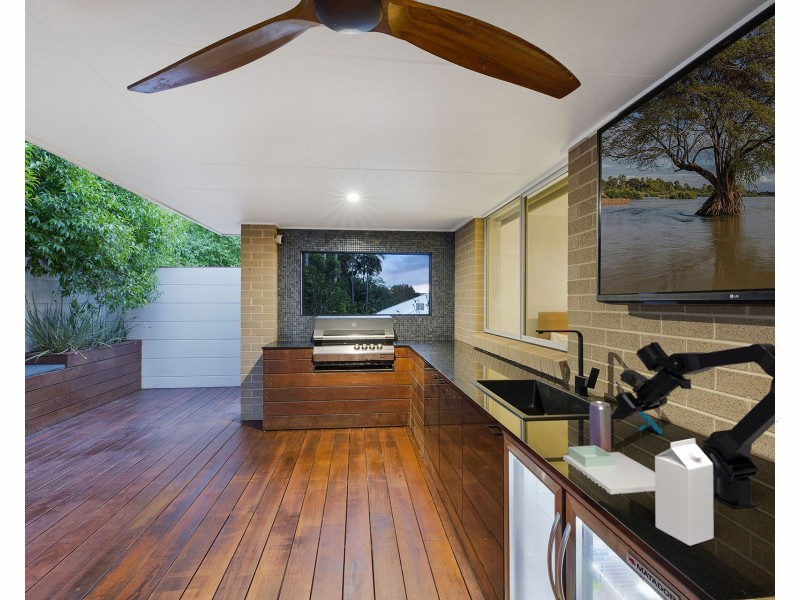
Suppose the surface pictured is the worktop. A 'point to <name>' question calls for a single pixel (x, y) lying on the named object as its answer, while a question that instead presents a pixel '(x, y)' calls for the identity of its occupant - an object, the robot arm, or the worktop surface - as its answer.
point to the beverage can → (600, 425)
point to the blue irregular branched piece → (649, 423)
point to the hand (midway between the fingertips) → (621, 415)
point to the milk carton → (684, 493)
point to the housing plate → (611, 470)
